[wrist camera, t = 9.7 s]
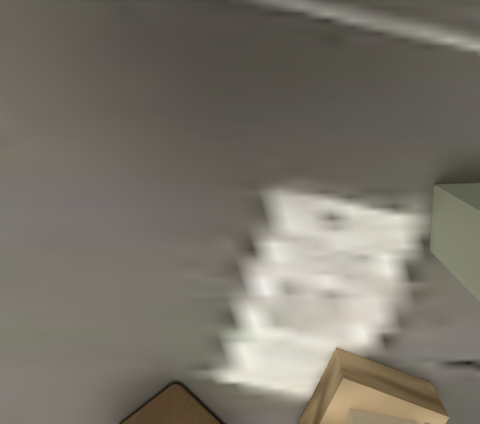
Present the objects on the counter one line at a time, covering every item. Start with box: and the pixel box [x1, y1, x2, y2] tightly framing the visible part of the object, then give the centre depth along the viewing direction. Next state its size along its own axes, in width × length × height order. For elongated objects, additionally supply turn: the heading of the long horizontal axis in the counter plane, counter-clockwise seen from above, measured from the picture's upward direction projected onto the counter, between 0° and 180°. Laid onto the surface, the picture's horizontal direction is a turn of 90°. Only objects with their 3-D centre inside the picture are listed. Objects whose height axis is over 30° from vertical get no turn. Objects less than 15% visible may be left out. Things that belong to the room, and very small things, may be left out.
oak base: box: [298, 348, 449, 424], centre depth 41 cm, size 10×10×5 cm
